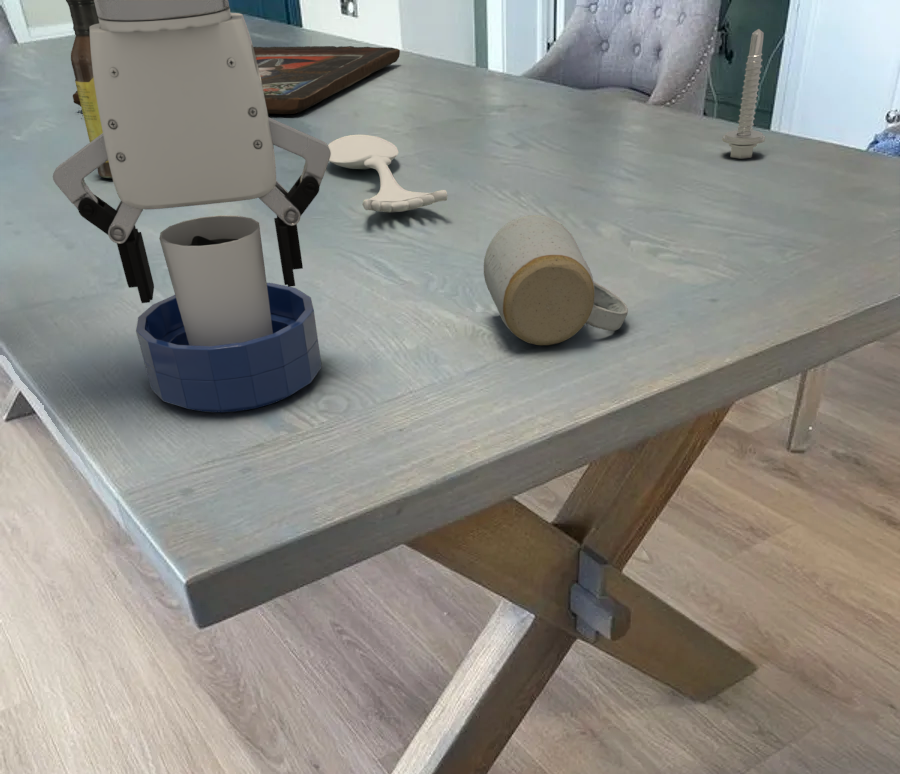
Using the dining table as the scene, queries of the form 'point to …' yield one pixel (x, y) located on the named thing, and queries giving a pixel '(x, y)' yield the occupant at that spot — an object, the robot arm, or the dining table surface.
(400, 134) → the dining table surface
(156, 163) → the robot arm
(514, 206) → the dining table surface
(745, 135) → the screw
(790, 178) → the dining table surface
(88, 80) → the sauce bottle
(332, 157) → the cream back scratcher
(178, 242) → the white cylindrical cup
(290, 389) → the bowl
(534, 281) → the ceramic mug
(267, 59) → the religious icon
